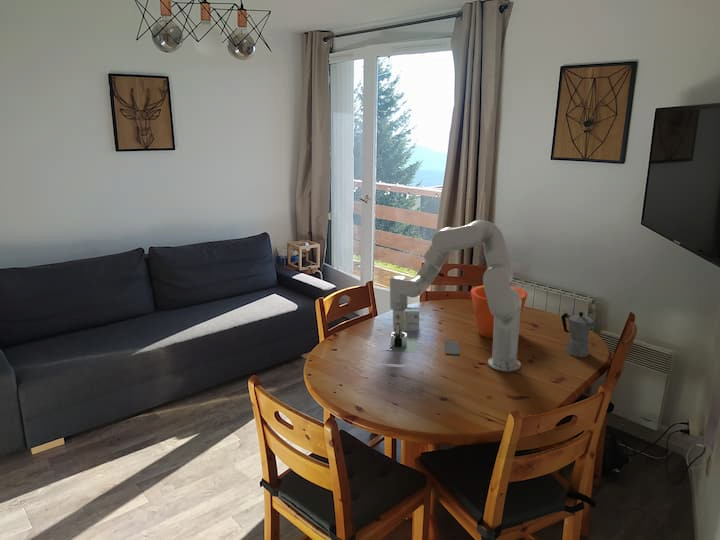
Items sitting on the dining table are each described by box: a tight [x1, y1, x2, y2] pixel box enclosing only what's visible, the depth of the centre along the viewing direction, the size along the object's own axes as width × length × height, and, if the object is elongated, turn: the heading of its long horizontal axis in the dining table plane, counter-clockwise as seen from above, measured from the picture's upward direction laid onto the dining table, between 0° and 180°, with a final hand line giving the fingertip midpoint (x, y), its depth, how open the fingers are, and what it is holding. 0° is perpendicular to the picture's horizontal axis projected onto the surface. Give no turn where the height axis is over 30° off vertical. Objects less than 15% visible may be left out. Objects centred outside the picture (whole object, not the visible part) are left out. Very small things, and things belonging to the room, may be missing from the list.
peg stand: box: [388, 333, 418, 353], centre depth 225 cm, size 16×16×7 cm
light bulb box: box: [405, 306, 420, 332], centre depth 243 cm, size 11×7×11 cm, turn 84°
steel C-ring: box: [390, 331, 408, 347], centre depth 225 cm, size 7×7×4 cm
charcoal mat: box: [444, 340, 461, 356], centre depth 223 cm, size 14×14×1 cm
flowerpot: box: [470, 284, 528, 340], centre depth 236 cm, size 25×25×20 cm
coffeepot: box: [561, 311, 596, 358], centre depth 214 cm, size 15×9×18 cm, turn 33°
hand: (398, 342), depth 225 cm, fingers closed on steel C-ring, 7 cm apart
